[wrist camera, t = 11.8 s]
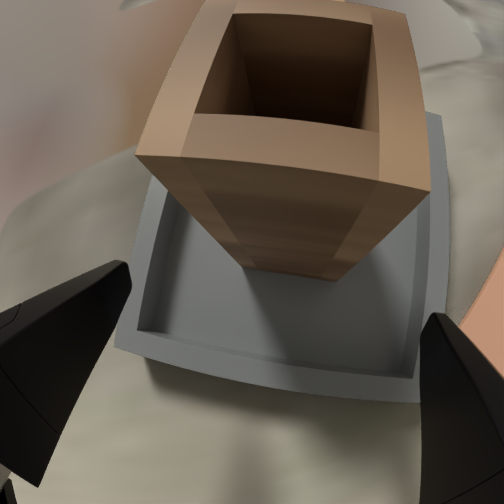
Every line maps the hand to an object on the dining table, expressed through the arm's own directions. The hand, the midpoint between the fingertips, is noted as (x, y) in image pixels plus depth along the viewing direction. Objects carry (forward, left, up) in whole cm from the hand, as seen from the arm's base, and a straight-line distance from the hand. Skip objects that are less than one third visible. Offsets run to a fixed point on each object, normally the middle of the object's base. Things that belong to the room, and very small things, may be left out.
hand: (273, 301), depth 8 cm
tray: (+4, +1, -9) cm, 10 cm away
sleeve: (+4, +1, -8) cm, 9 cm away
